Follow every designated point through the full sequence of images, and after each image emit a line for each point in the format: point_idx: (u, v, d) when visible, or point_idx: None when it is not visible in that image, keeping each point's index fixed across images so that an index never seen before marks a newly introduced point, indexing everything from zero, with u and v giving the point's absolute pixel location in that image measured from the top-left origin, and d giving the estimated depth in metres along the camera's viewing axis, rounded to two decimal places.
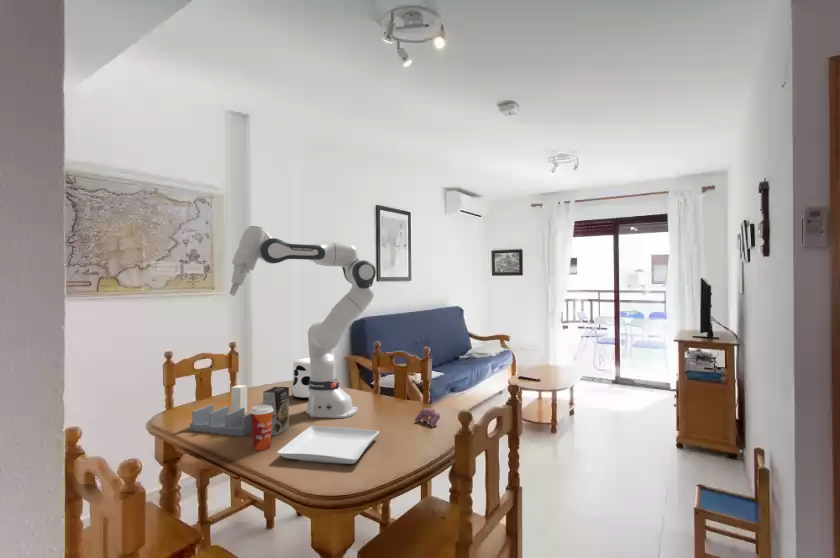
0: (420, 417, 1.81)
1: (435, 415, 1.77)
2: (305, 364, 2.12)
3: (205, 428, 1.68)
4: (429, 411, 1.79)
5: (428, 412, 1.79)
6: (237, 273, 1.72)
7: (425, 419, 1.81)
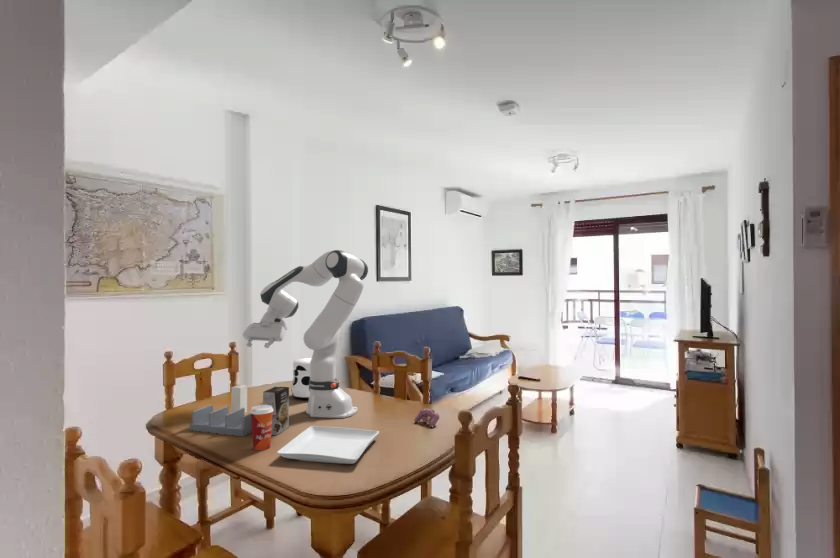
0: (419, 417, 1.81)
1: (434, 415, 1.77)
2: (305, 364, 2.12)
3: (205, 428, 1.68)
4: (428, 411, 1.79)
5: (427, 412, 1.79)
6: None
7: (424, 419, 1.80)
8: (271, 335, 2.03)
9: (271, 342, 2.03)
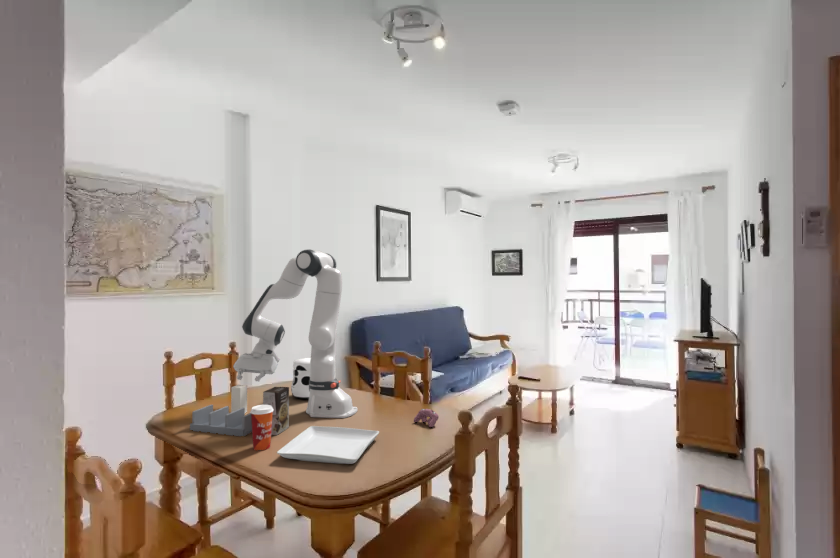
0: (419, 418, 1.81)
1: (434, 416, 1.76)
2: (305, 364, 2.12)
3: (205, 428, 1.68)
4: (428, 412, 1.78)
5: (427, 413, 1.78)
6: None
7: (424, 420, 1.80)
8: (262, 368, 1.97)
9: (262, 375, 1.97)
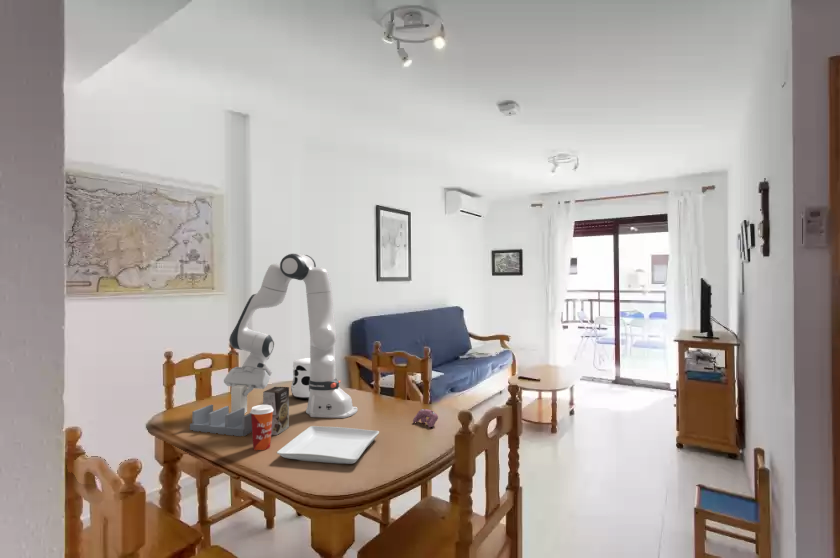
0: (418, 418, 1.80)
1: (433, 416, 1.76)
2: (305, 364, 2.12)
3: (205, 428, 1.68)
4: (427, 412, 1.78)
5: (426, 413, 1.78)
6: None
7: (423, 420, 1.79)
8: (253, 382, 1.91)
9: (250, 389, 1.91)
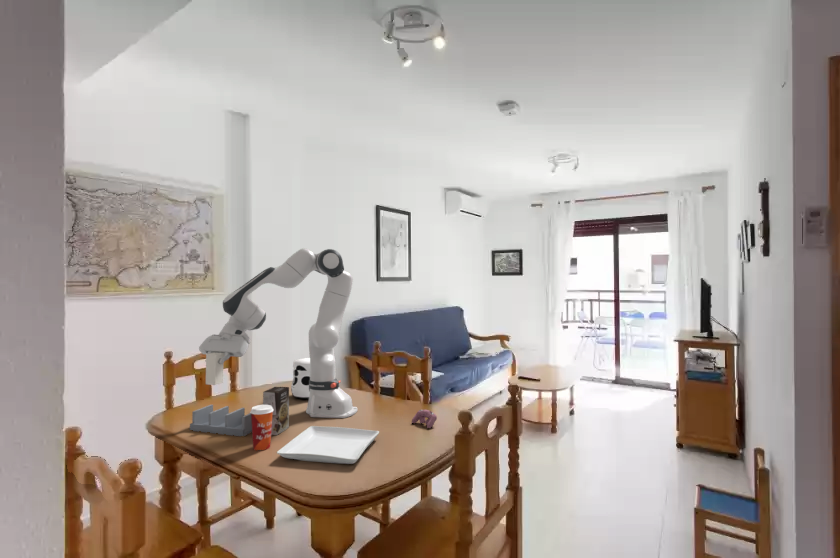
0: (417, 418, 1.79)
1: (432, 416, 1.75)
2: (305, 364, 2.12)
3: (205, 428, 1.68)
4: (426, 412, 1.77)
5: (425, 413, 1.77)
6: None
7: (422, 420, 1.79)
8: (230, 349, 1.77)
9: (226, 357, 1.77)
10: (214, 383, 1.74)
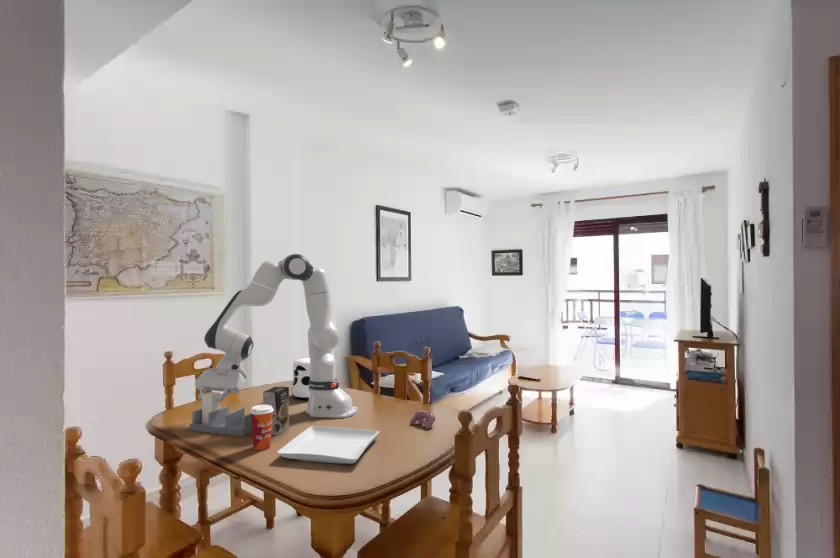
0: (415, 419, 1.79)
1: (430, 417, 1.74)
2: (305, 364, 2.12)
3: (205, 428, 1.68)
4: (424, 413, 1.76)
5: (423, 414, 1.76)
6: None
7: (420, 421, 1.78)
8: (226, 386, 1.75)
9: (226, 394, 1.74)
10: None
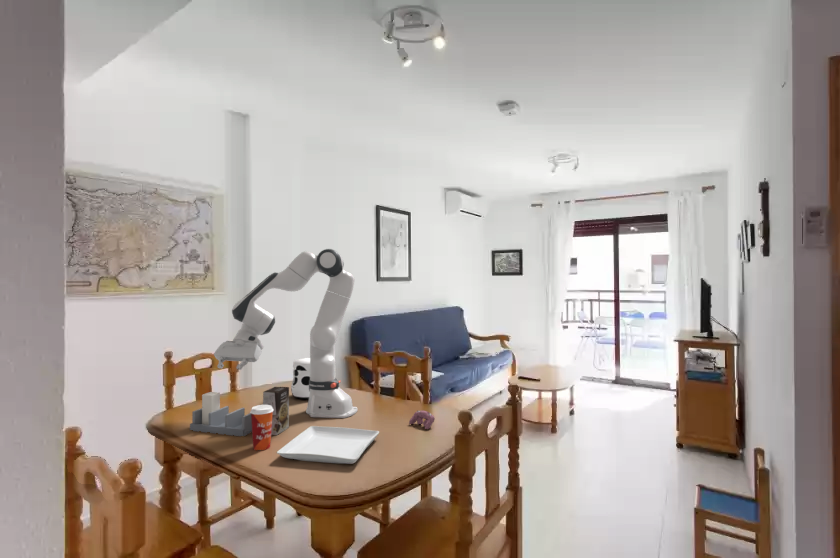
0: (414, 419, 1.78)
1: (430, 417, 1.74)
2: (305, 364, 2.12)
3: (205, 428, 1.68)
4: (423, 413, 1.76)
5: (422, 414, 1.76)
6: None
7: (419, 421, 1.77)
8: (244, 355, 1.85)
9: (244, 363, 1.84)
10: None
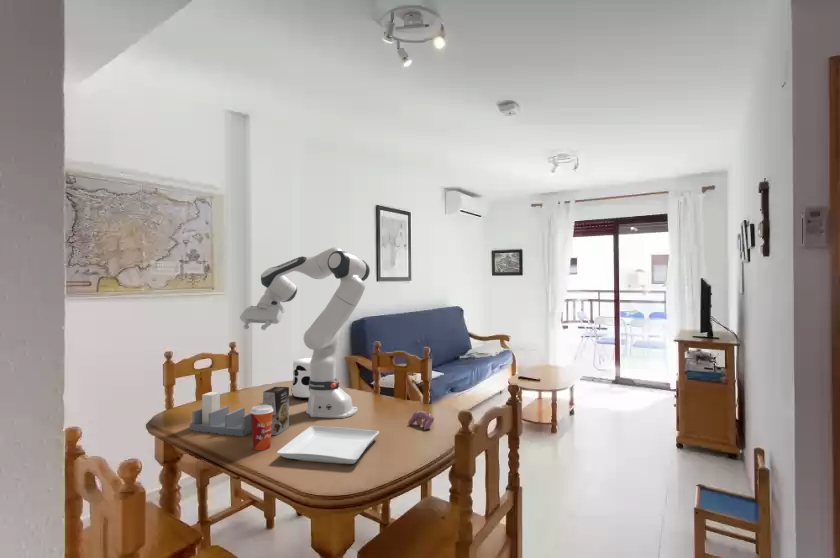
0: (413, 420, 1.78)
1: (429, 418, 1.73)
2: (305, 364, 2.12)
3: (205, 428, 1.68)
4: (423, 414, 1.76)
5: (422, 415, 1.76)
6: None
7: (418, 422, 1.77)
8: (268, 317, 2.05)
9: (268, 324, 2.04)
10: None
